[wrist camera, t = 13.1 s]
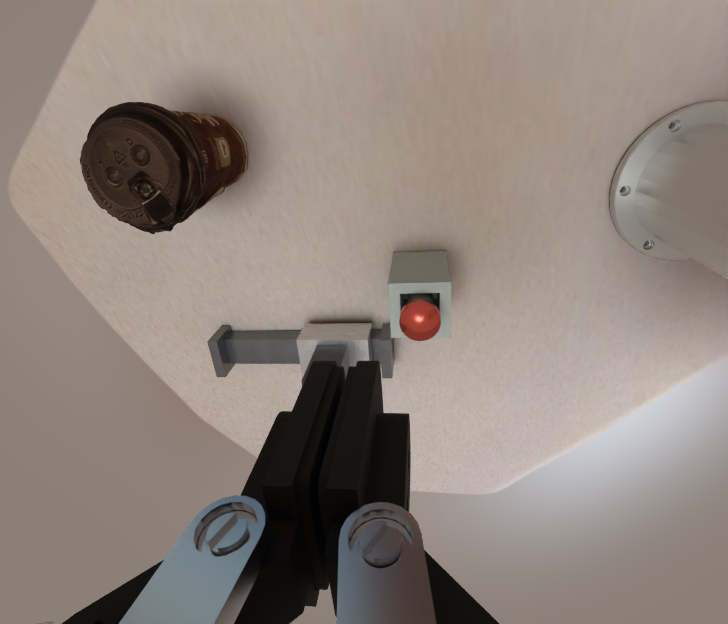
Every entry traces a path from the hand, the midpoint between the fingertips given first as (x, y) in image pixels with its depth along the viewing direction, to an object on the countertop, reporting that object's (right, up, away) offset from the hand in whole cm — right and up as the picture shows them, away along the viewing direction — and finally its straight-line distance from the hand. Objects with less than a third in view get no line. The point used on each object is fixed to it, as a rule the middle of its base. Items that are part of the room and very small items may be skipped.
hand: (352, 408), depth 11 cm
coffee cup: (-13, +17, +29) cm, 36 cm away
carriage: (-2, -1, +36) cm, 36 cm away
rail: (-6, -1, +36) cm, 37 cm away
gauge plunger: (+5, +5, +28) cm, 29 cm away
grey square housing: (+6, +6, +31) cm, 32 cm away
